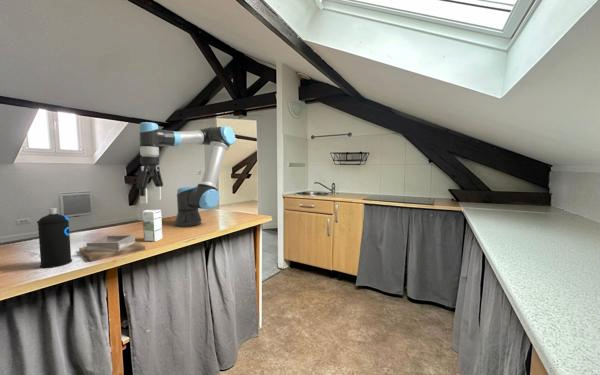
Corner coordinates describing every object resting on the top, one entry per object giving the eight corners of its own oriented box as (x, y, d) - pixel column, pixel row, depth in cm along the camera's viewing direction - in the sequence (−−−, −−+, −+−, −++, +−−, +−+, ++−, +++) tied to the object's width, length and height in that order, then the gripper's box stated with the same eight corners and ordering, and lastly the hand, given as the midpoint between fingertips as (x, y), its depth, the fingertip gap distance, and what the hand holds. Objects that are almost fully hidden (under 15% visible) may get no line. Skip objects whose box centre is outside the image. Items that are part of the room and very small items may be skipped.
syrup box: (162, 238, 121) (161, 209, 120) (154, 241, 115) (153, 211, 114) (151, 238, 122) (150, 208, 120) (143, 241, 116) (141, 210, 115)
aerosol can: (43, 270, 82) (39, 211, 81) (36, 265, 87) (32, 208, 85) (75, 262, 89) (72, 207, 88) (67, 258, 94) (64, 206, 92)
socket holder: (130, 241, 115) (129, 231, 115) (145, 249, 104) (144, 237, 104) (79, 251, 101) (78, 239, 101) (90, 261, 90) (89, 248, 90)
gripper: (154, 157, 127) (155, 198, 129) (125, 154, 103) (127, 204, 104) (169, 157, 128) (170, 198, 130) (144, 154, 103) (146, 204, 105)
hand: (151, 201), depth 117 cm, fingers open, 13 cm apart
